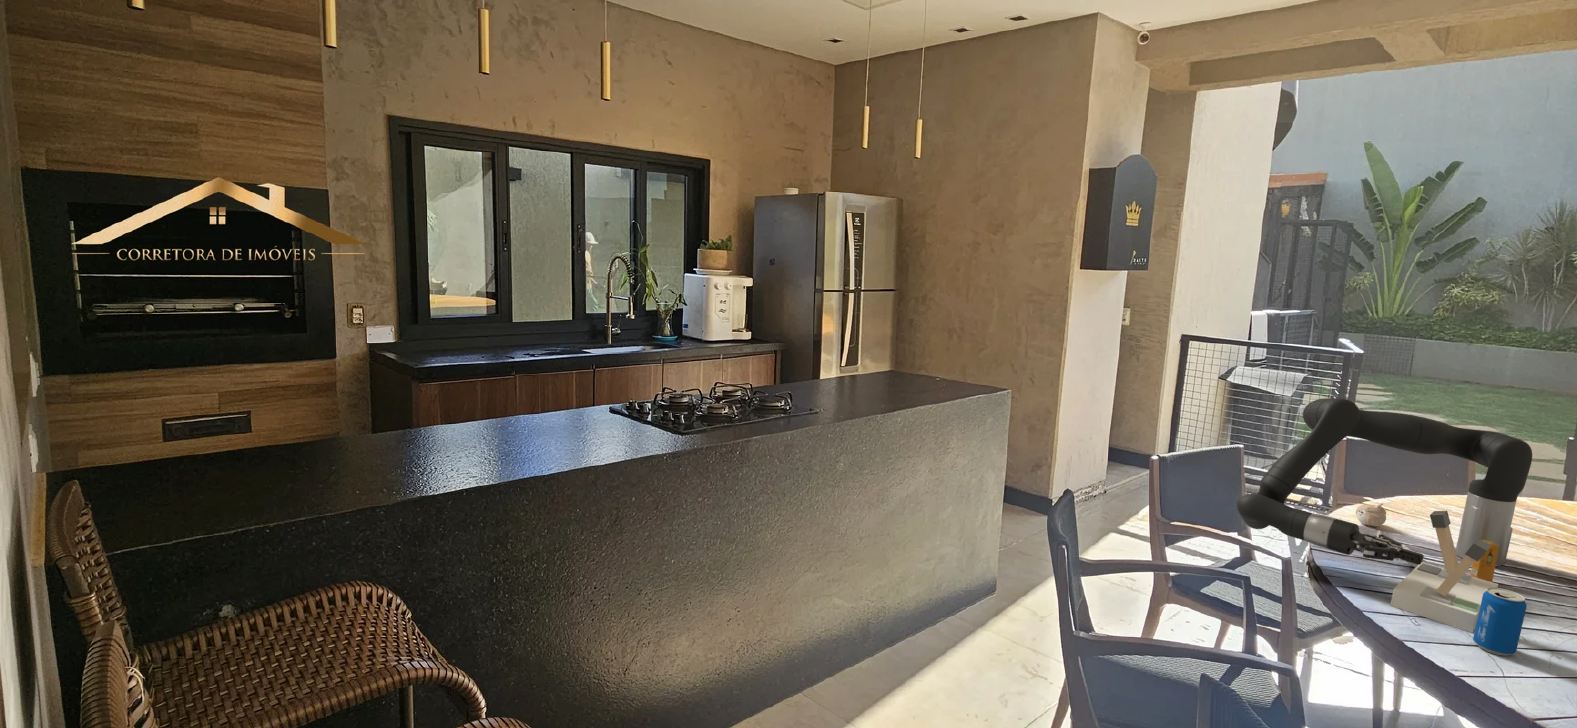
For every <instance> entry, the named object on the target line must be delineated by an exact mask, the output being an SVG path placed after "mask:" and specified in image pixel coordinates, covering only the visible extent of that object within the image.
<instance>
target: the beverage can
mask: <svg viewBox="0 0 1577 728" xmlns="http://www.w3.org/2000/svg"><path fill="white" fill-rule="evenodd" d="M1527 607H1528V605H1527V603H1526V597H1524V596H1523V595H1521V594H1520V593H1518V592H1515V591H1513V590H1510V589H1506V588H1501V587H1498V588H1496V587H1490V588H1488V589H1487V591H1486V592H1484V593H1483V597H1482V601H1481V606H1480V610H1479V615H1478V619H1477V624H1476V628H1475V629H1474V634H1473V636H1472V637H1473V638H1472V641H1473V642H1474V643H1475V644H1476V645H1477V647H1478V648H1480V649H1482V650H1484V651H1485V652H1488V653H1491V654H1494V655H1496V656H1497V655H1498V656H1506V657H1507V656H1510V655H1515V654H1516V653H1517V651H1518V647H1519V646H1518V645H1519V641H1520V637H1521V633H1522V628H1523V624H1524V620H1525V616H1526V611H1527Z"/></svg>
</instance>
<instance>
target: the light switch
mask: <svg viewBox="0 0 1577 728" xmlns="http://www.w3.org/2000/svg"><path fill="white" fill-rule="evenodd" d="M1379 535H1384V536H1386V537H1388V538H1390V539H1392V540H1394V541H1396V542H1398V541H1397V540H1395V538H1392V537H1391V536H1390V535H1388V534H1386V533H1385V532H1383V531H1382V530H1377V532H1376V536H1377V537H1379ZM1402 547H1403V549H1407V550H1410V551H1412V550H1411V549H1410V548H1409V547H1407V546H1405V545H1404V544H1402ZM1405 562H1407V561H1405ZM1423 562H1424V563H1427V564H1430V562H1428V561H1426V560H1425V559H1423ZM1407 563H1408V564H1410V566H1412V567H1414V569H1415V568H1416V567H1417V566H1418V564H1414V563H1411V562H1407Z"/></svg>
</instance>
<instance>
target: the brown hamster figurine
mask: <svg viewBox="0 0 1577 728" xmlns="http://www.w3.org/2000/svg"><path fill="white" fill-rule="evenodd" d="M1383 505H1384V502H1380V503H1378V504H1367V503H1366V504H1361V505H1359V506H1358V507H1357V508H1356V510H1355V515H1356V517H1357V520H1358V522H1360V523H1361V524H1363V525H1364V526H1368V527H1373V528H1374V527H1375V528H1376V527H1380V526H1382V525H1384V524H1385V523H1386V521H1387V511H1386V509H1385V508H1384V507H1383Z"/></svg>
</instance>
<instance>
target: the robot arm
mask: <svg viewBox="0 0 1577 728" xmlns="http://www.w3.org/2000/svg"><path fill="white" fill-rule="evenodd" d="M1302 419H1303V421H1304V424H1305V425H1306V426H1308V428H1309V429H1311V431H1310V433H1309V434H1308V435H1307V436H1306V437H1304V438H1303V440H1301V441H1300V442H1299V443H1298V444H1296V445H1294V446H1293V447H1292V448H1290V449H1289V450H1288V451H1286V452H1285V453H1284V454H1283V455H1281V456H1280V457H1278V459H1277V460H1275V462H1273V464H1272V465H1271V467H1270V468H1268V470H1267V471H1266V472H1265V474H1264V475H1263V477H1261V479H1260V481H1259V490H1258V491H1257V493H1247V494H1244V495H1242V496H1240V497H1239V499H1238V501H1237V502H1236V510H1237V512H1238V514H1239V515H1240V517H1241V519H1242V521H1243V522H1244V524H1245V525H1246V526H1248V527H1249V528H1251V529H1254V530H1262V529H1266V528H1267V527H1272V528H1275V529H1277V530H1278V531H1279V532H1281V533H1282V534H1283V535H1286V536H1288V537H1290V538H1295V539H1298V540H1301V541H1304V542H1307V543H1310V544H1312V545H1314V546H1317V547H1320V548H1324V549H1327V550H1330V551H1333V552H1337V553H1340V554H1343V555H1347V556H1349V555H1352V554H1353V552H1354V551H1357V552H1360V553H1361V554H1362V557H1364V558H1365V559H1375V560H1382V561H1390V562H1392V561H1394V560H1395V561H1396V560H1397V561H1399V560H1401V561H1405V562H1406V561H1407V563H1408V562H1411V563H1414V564H1418V565H1420V564H1421V563H1422V562H1423V560H1424V556H1425V555H1424V554H1423V553H1421V552H1420V553H1419V552H1417V551H1413V550H1411V549H1410V550H1411V551H1410V550H1407V549H1403V547H1402V545H1403V544H1401V543H1400V542H1398V541H1397V540H1395V539H1394V540H1395V541H1394V540H1392V539H1393V538H1392V539H1390V538H1388V537H1386V536H1384V535H1379V537H1377V534H1372V533H1367V534H1366V533H1361V532H1360V527H1359V525H1358V524H1357V523H1355V522H1354V523H1353V522H1350V521H1346V520H1343V519H1341V518H1335V517H1332V516H1328V515H1324V514H1321V513H1319V514H1318V513H1315V512H1314V513H1313V512H1310V511H1306V510H1302V509H1299V508H1294V507H1291V506H1290V505H1286V504H1285V503H1286V500H1287V498H1288V497H1289V496H1290V495H1291V494H1292V492H1294V490H1295V489H1296V488H1297V487H1298V485H1299V484H1300V483H1301V481H1302V480H1303V479H1304V478H1305V477H1306V476H1307V474H1309V472H1310V471H1311V470H1312V469H1313V467H1315V466H1316V465H1317V463H1319V461H1321V460H1322V459H1323V457H1325V456H1326V455H1327V454H1329V452H1331V450H1332V449H1334V448H1335V446H1336V445H1338V444H1339V443H1340V442H1342V440H1344V439H1345V438H1346V437H1352V438H1357V439H1361V440H1365V441H1368V442H1371V443H1375V444H1378V445H1381V446H1385V447H1389V448H1393V449H1397V450H1402V451H1406V452H1410V453H1415V454H1416V453H1417V454H1420V455H1421V454H1422V455H1441V454H1443V455H1451V456H1455V457H1459V458H1462V459H1465V460H1468V461H1470V462H1474V463H1476V464H1478V465H1481V466H1484V467H1486V468H1487V470H1486V474H1485V476H1484V478H1483V479H1479V478H1478V479H1474V480H1471V481H1470V482H1469V485H1468V486H1469V487H1468V490H1467V493H1466V494H1467V496H1466V500H1465V505H1464V507H1463V508H1464V510H1463V513H1462V518H1461V523H1460V528H1459V533H1458V538H1457V542H1456V548H1455V551H1456V555H1457V557H1459V558H1461V559H1463V558H1464V557H1465V556H1466V555H1465V553H1466V552H1467V551H1468V549H1469V548H1470V547H1471V546H1472V545H1473V543H1474V542H1475V541H1476V540H1477V539H1480V540H1487V541H1492V542H1494V543H1496V544H1497V545H1499V550H1498V555H1497V560H1496V565H1495V567H1501V566H1502V565H1503V564H1505V563H1506V562H1507V557H1508V552H1509V547H1510V543H1511V539H1512V535H1513V527H1512V522H1513V519H1514V513H1515V509H1516V505H1517V500H1518V498H1519V497H1518V496H1519V495H1520V493H1522V492H1523V490H1524V488H1525V485H1526V482H1527V479H1528V476H1529V473H1530V469H1531V465H1532V462H1533V461H1532V460H1533V450H1532V448H1531V445H1529V443H1528V442H1527V441H1525V440H1522V439H1520V438H1517V437H1514V436H1512V435H1509V434H1505V433H1502V432H1498V431H1492V430H1484V429H1483V430H1481V429H1472V428H1466V427H1465V428H1463V427H1457V426H1453V425H1450V424H1449V423H1445V422H1442V421H1439V420H1436V419H1432V418H1427V417H1424V416H1417V415H1414V414H1408V413H1400V412H1392V411H1391V412H1390V411H1379V410H1378V411H1376V410H1374V411H1373V410H1365V409H1360V408H1359V407H1358V406H1357V404H1356V403H1355V402H1353V401H1352V400H1349V399H1346V398H1343V397H1342V398H1341V397H1339V398H1337V397H1336V398H1335V397H1332V398H1330V397H1329V398H1327V397H1326V398H1325V397H1324V398H1319V399H1315V400H1312V401H1310V402H1308V404H1307V405H1306V406H1305V407H1304V408H1303V411H1302ZM1396 541H1397V542H1396Z"/></svg>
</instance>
